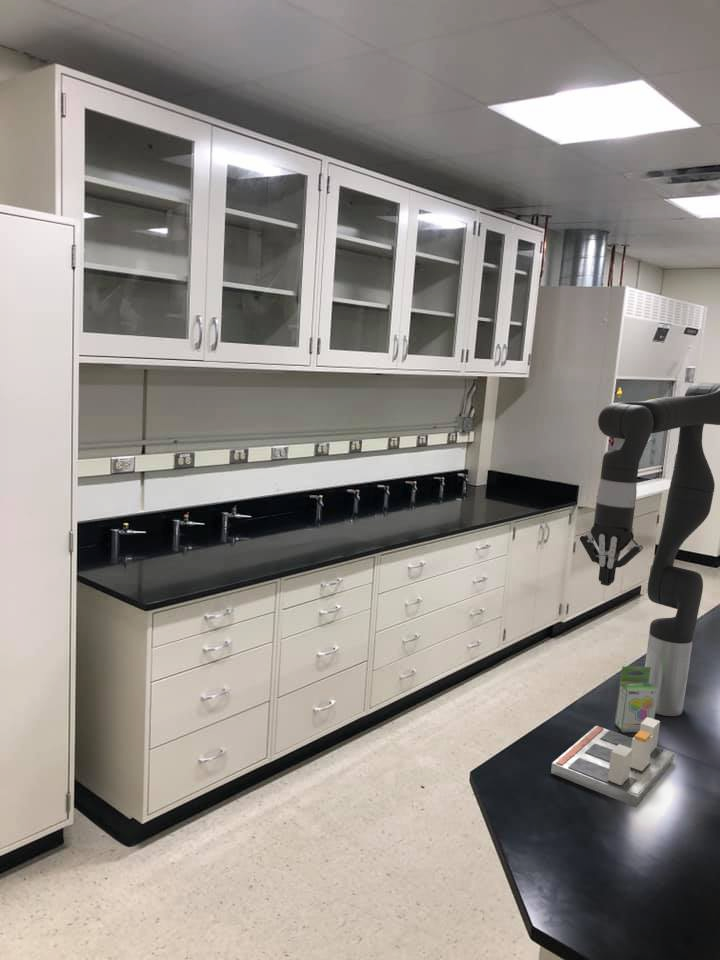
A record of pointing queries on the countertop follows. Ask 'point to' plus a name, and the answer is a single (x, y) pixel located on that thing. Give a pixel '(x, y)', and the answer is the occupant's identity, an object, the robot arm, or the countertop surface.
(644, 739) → the block
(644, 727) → the block
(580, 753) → the panel
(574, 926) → the countertop surface
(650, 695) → the ink box
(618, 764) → the breaker near
